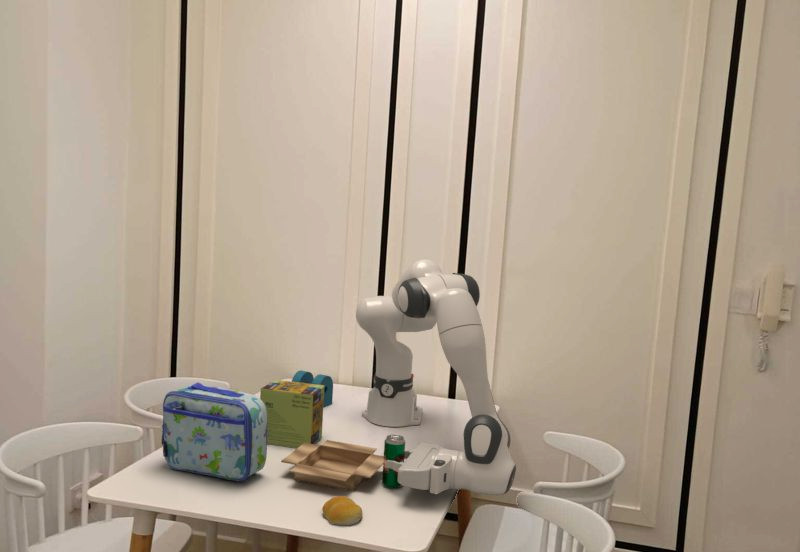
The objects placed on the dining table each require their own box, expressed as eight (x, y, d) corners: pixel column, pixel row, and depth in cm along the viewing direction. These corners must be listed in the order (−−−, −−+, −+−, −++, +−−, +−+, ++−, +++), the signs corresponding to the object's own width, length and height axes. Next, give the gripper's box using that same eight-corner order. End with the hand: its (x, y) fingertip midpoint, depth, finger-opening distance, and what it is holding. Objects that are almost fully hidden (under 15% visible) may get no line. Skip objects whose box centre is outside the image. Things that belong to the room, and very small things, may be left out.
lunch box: (154, 467, 177) (156, 384, 174) (183, 454, 187) (185, 375, 184) (244, 490, 167) (247, 402, 165) (269, 474, 177) (273, 391, 175)
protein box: (310, 450, 195) (313, 394, 193) (257, 443, 198) (259, 388, 196) (322, 438, 205) (325, 384, 203) (271, 431, 208) (273, 378, 206)
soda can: (381, 480, 178) (384, 433, 176) (401, 481, 178) (404, 434, 177) (382, 488, 173) (385, 440, 171) (403, 489, 173) (406, 441, 172)
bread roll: (335, 530, 151) (336, 512, 151) (317, 512, 159) (318, 495, 158) (369, 522, 155) (370, 505, 155) (350, 506, 163) (351, 489, 163)
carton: (310, 451, 194) (311, 437, 193) (392, 465, 188) (393, 451, 187) (272, 483, 172) (272, 467, 171) (362, 500, 166) (363, 484, 165)
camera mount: (305, 398, 242) (306, 368, 241) (332, 404, 237) (333, 373, 236) (273, 411, 226) (274, 379, 225) (301, 418, 221) (302, 385, 220)
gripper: (456, 441, 181) (403, 432, 185) (436, 470, 161) (378, 460, 165) (454, 465, 182) (401, 456, 185) (434, 497, 162) (376, 486, 166)
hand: (390, 458), depth 175 cm, fingers closed on soda can, 5 cm apart
